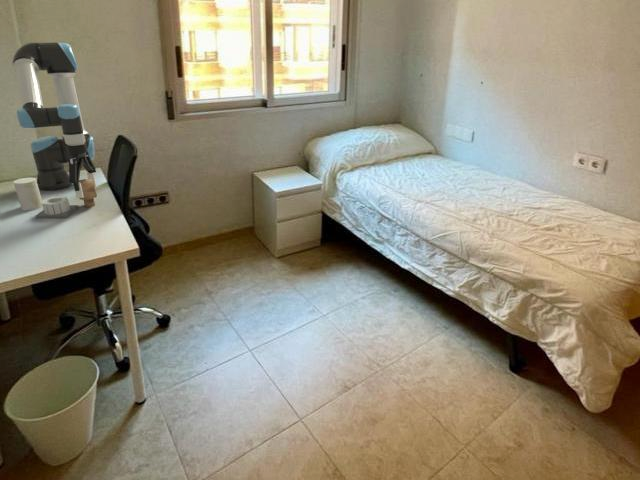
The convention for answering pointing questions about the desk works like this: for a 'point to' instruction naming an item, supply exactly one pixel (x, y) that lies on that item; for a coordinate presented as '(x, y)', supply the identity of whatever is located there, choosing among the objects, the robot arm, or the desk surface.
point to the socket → (56, 208)
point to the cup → (28, 193)
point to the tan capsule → (88, 192)
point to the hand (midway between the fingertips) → (87, 192)
